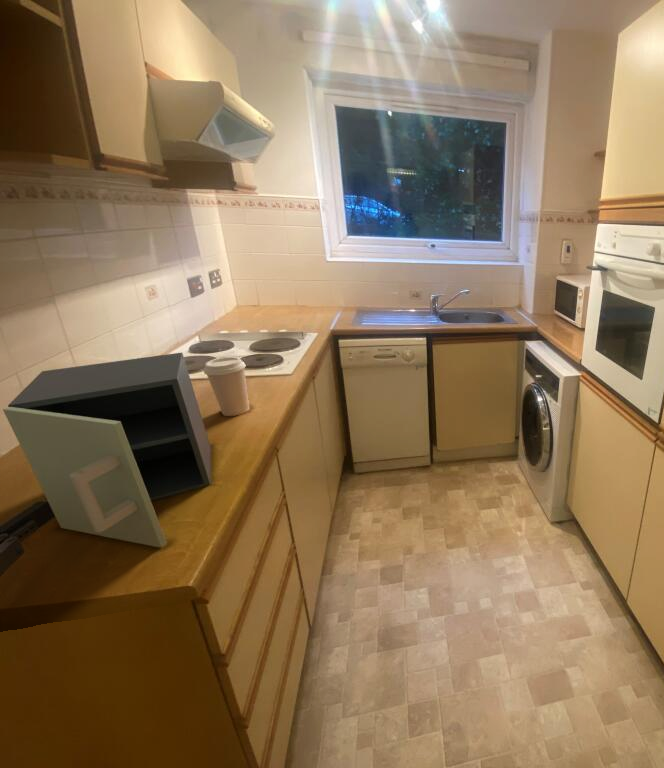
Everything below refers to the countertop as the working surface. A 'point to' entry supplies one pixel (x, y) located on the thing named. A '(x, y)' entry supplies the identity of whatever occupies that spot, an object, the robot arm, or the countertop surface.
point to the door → (87, 474)
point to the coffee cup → (229, 384)
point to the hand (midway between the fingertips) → (46, 509)
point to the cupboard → (136, 414)
